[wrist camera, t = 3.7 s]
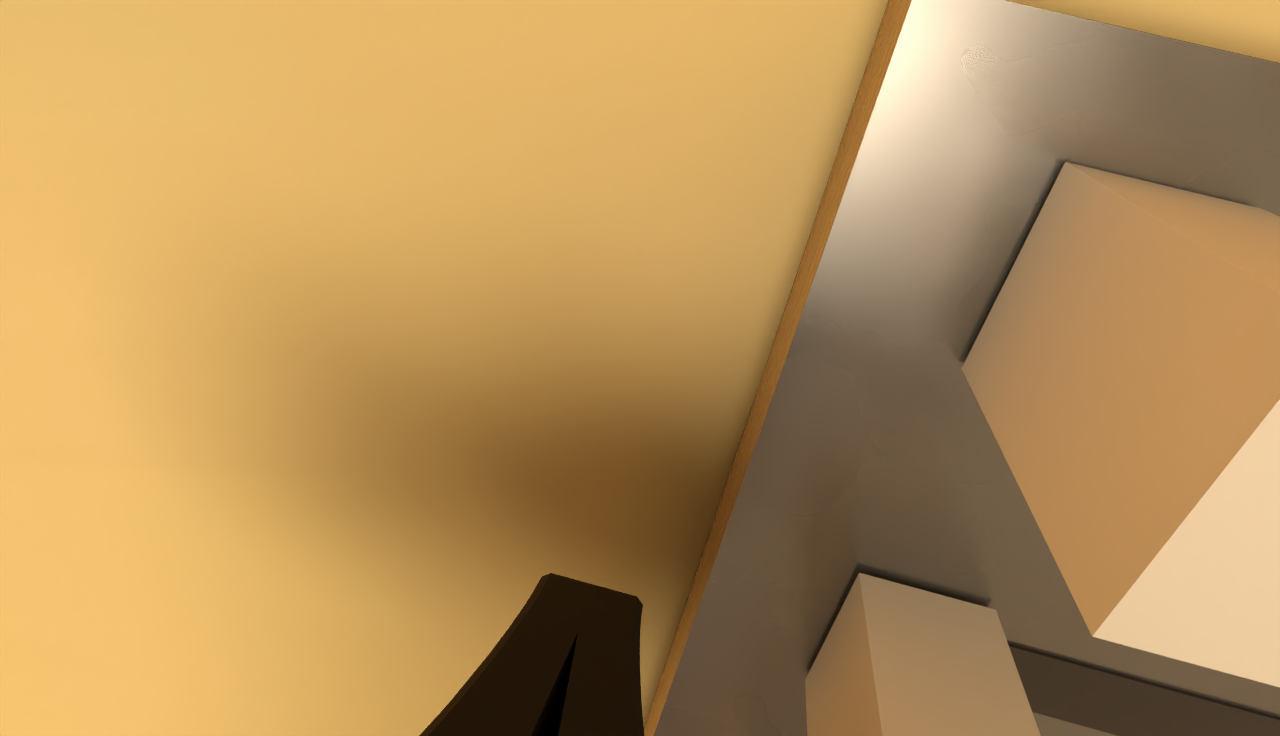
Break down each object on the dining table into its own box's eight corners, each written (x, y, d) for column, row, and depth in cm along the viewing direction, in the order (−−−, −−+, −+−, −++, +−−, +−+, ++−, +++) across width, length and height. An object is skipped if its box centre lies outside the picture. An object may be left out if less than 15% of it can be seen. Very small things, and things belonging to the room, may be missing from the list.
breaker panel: (1133, 939, 16) (1174, 1049, 14) (622, 790, 16) (606, 879, 15) (2008, 237, 7) (2360, 307, 6) (896, -19, 8) (925, -19, 6)
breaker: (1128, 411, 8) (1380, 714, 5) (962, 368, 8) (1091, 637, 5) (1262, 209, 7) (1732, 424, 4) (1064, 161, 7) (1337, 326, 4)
